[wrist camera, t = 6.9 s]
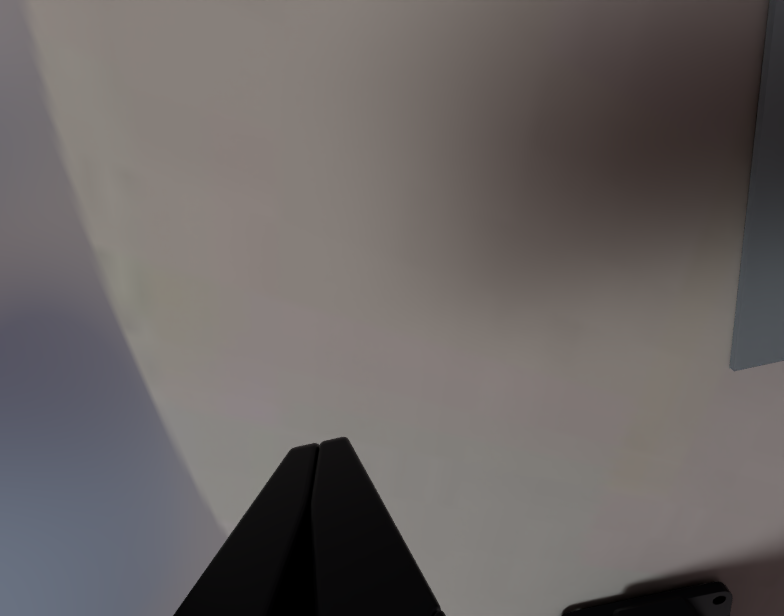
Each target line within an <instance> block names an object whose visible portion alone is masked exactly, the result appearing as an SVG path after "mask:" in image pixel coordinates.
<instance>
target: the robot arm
mask: <svg viewBox="0 0 784 616" xmlns="http://www.w3.org/2000/svg"><path fill="white" fill-rule="evenodd" d="M731 604H732V594H731V592H730V591H729V590H728V588H727V587H726V585H725V584H724V583H722V582H711V583H706V584H702V585H697V586H692V587H687V588H682V589H678V590H673V591H668V592H663V593H659V594H654V595H649V596H644V597H639V598H635V599H630V600H625V601H620V602H616V603H611V604H606V605H601V606H596V607H592V608H587V609H582V610H577V611H573V612H569V613H566V614H564V615H562V616H730V611H731ZM173 616H446V615H445V613H444V612H443V611H441V608H440V605H439V603H438V601H437V600H436V598H435V596H434V594H433V592H432V590H431V589H430V587H429V585H428V583H427V581H426V580H425V578H424V576H423V574H422V572H421V570H420V569H419V567H418V565H417V563H416V561H415V560H414V558H413V556H412V554H411V552H410V550H409V549H408V547H407V545H406V543H405V541H404V540H403V538H402V536H401V534H400V532H399V530H398V529H397V527H396V525H395V523H394V521H393V519H392V518H391V516H390V514H389V512H388V510H387V509H386V507H385V505H384V503H383V501H382V499H381V498H380V496H379V494H378V492H377V490H376V489H375V487H374V485H373V483H372V481H371V479H370V478H369V476H368V474H367V472H366V470H365V469H364V467H363V465H362V463H361V461H360V459H359V458H358V456H357V454H356V452H355V450H354V448H353V447H352V445H351V443H350V441H349V440H348V438H346V437H340V438H335V439H331V440H326V441H323V442H322V443H321V444H320V445H319V444H317V443H312V444H308V445H303V446H298V447H295V448H292V449H291V450H290V451H289V452H288V454H287V455H286V456H285V458H284V459H283V461H282V462H281V463H280V465H279V466H278V468H277V469H276V471H275V472H274V473H273V475H272V476H271V478H270V479H269V480H268V482H267V483H266V485H265V486H264V488H263V489H262V490H261V492H260V493H259V495H258V496H257V498H256V499H255V500H254V502H253V503H252V505H251V506H250V507H249V509H248V510H247V512H246V513H245V515H244V516H243V517H242V519H241V520H240V522H239V523H238V524H237V526H236V527H235V529H234V530H233V532H232V533H231V534H230V536H229V537H228V539H227V540H226V541H225V543H224V544H223V546H222V547H221V549H220V550H219V551H218V553H217V554H216V556H215V557H214V558H213V560H212V561H211V563H210V564H209V566H208V567H207V568H206V570H205V571H204V573H203V574H202V576H201V577H200V578H199V580H198V581H197V583H196V584H195V586H194V587H193V588H192V590H191V591H190V592H189V594H188V595H187V597H186V598H185V600H184V601H183V603H182V604H181V605H180V607H179V608H178V610H177V611H176V612H175V614H174V615H173Z"/></svg>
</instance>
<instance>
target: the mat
mask: <svg viewBox="0 0 784 616" xmlns="http://www.w3.org/2000/svg"><path fill="white" fill-rule="evenodd" d="M779 361H784V0H770V1H769V10H768V19H767V29H766V38H765V47H764V56H763V65H762V74H761V83H760V93H759V102H758V111H757V120H756V129H755V138H754V147H753V157H752V166H751V175H750V184H749V193H748V202H747V211H746V220H745V230H744V239H743V248H742V257H741V266H740V275H739V284H738V294H737V303H736V312H735V321H734V330H733V339H732V348H731V357H730V367H729V368H731V369H732V370H733V371H737V370H742V369H747V368H751V367H756V366H761V365H765V364H770V363H774V362H779Z"/></svg>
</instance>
